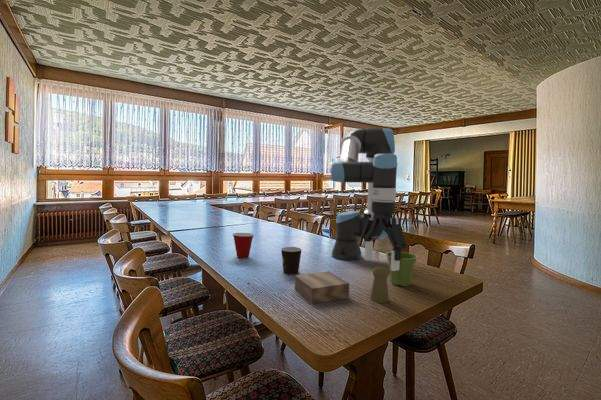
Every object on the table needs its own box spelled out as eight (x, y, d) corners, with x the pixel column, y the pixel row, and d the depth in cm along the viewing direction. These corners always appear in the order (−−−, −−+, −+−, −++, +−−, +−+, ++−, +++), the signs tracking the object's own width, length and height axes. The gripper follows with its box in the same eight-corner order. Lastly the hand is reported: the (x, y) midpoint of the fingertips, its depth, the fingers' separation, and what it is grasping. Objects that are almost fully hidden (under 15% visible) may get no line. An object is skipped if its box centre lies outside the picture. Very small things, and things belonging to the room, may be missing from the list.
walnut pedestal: (328, 284, 117) (328, 271, 117) (348, 297, 104) (349, 283, 104) (294, 288, 112) (295, 275, 111) (311, 303, 99) (312, 288, 98)
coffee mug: (298, 276, 126) (299, 252, 125) (278, 274, 128) (278, 250, 127) (304, 268, 137) (304, 246, 137) (285, 266, 139) (285, 244, 138)
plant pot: (421, 283, 120) (423, 255, 119) (407, 291, 112) (409, 260, 111) (393, 276, 128) (395, 249, 128) (378, 282, 120) (380, 254, 119)
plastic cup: (258, 256, 156) (258, 232, 155) (243, 260, 147) (244, 236, 146) (242, 253, 162) (242, 230, 161) (227, 257, 153) (227, 233, 152)
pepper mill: (368, 295, 106) (369, 264, 106) (385, 295, 107) (386, 264, 106) (373, 303, 100) (374, 270, 100) (391, 302, 101) (393, 270, 100)
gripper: (352, 198, 111) (350, 256, 112) (401, 204, 88) (398, 276, 89) (369, 198, 114) (367, 255, 115) (421, 203, 91) (417, 274, 93)
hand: (381, 264), depth 102 cm, fingers open, 13 cm apart
